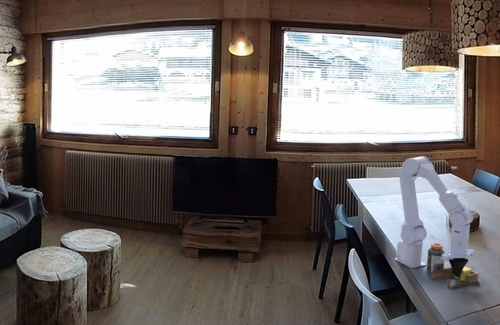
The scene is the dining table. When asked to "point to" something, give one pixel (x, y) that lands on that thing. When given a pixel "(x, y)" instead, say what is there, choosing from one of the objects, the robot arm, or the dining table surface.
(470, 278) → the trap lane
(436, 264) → the pill bottle
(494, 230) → the dining table surface
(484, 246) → the dining table surface
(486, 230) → the dining table surface
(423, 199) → the dining table surface
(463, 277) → the ochre block
